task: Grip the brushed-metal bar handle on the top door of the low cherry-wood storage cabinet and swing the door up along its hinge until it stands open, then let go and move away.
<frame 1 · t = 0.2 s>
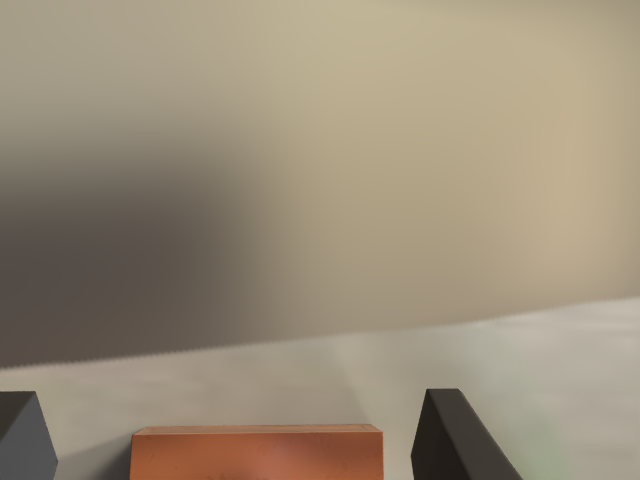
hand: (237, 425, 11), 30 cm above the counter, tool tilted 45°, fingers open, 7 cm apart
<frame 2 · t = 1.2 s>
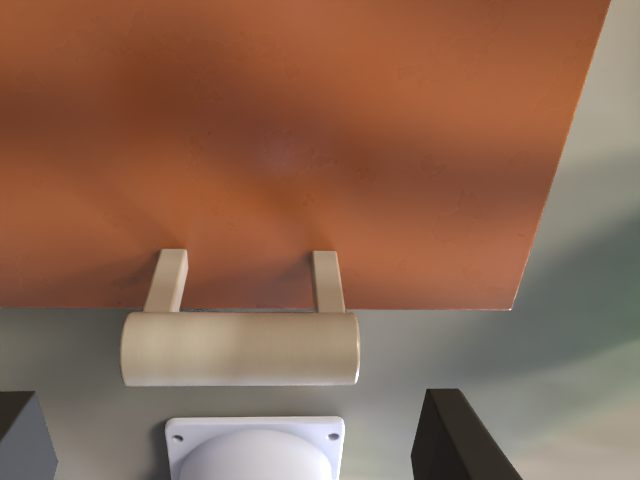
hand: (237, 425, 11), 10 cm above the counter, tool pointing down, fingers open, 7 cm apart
cabinet lid: (244, 178, 12), point 6 cm above the counter, hinge at 0.0°
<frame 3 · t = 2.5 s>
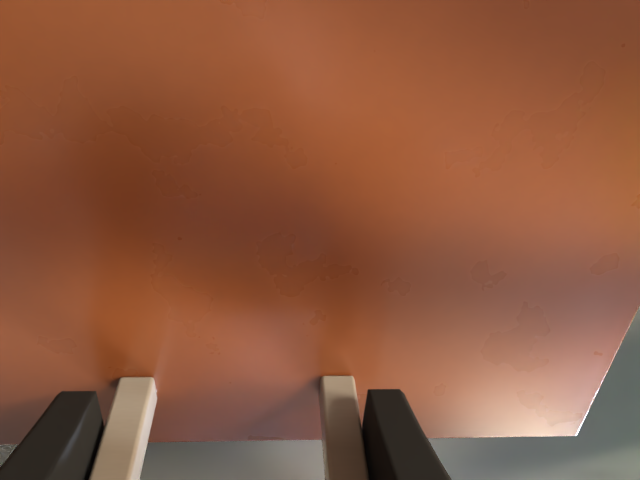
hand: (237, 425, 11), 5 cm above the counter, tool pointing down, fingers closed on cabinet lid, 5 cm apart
cabinet lid: (227, 321, 8), point 6 cm above the counter, hinge at 0.0°, touching gripper
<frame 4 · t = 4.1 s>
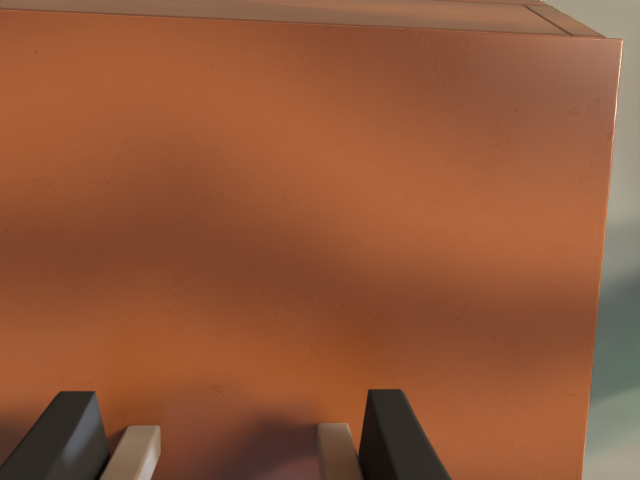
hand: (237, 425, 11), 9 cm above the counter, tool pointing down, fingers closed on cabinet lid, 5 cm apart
cabinet lid: (235, 304, 10), point 8 cm above the counter, hinge at 26.5°, touching gripper
cabinet: (252, 152, 17), on the counter
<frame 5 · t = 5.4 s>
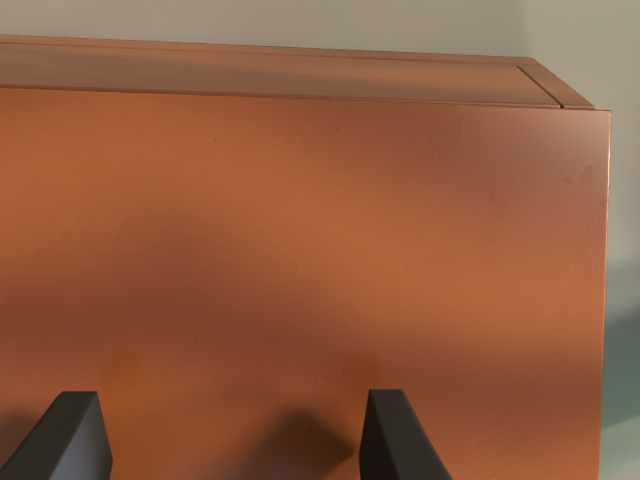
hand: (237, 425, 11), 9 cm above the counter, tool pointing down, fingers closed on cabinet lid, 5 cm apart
cabinet lid: (234, 376, 10), point 9 cm above the counter, hinge at 31.9°, touching gripper
cabinet: (253, 200, 18), on the counter
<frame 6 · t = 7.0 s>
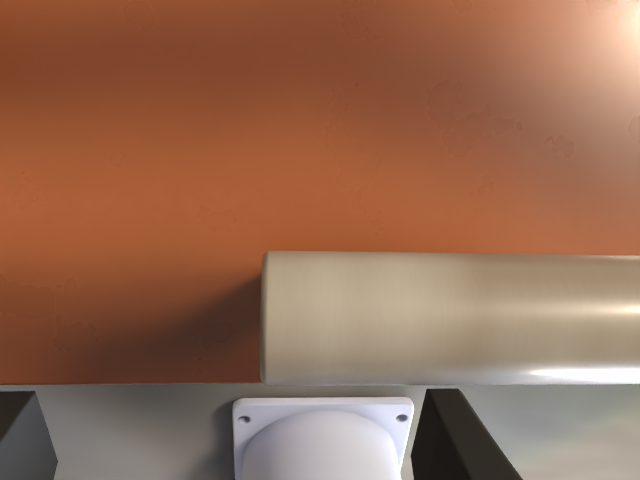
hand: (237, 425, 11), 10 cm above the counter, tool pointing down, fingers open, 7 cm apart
cabinet lid: (435, 73, 8), point 9 cm above the counter, hinge at 31.9°
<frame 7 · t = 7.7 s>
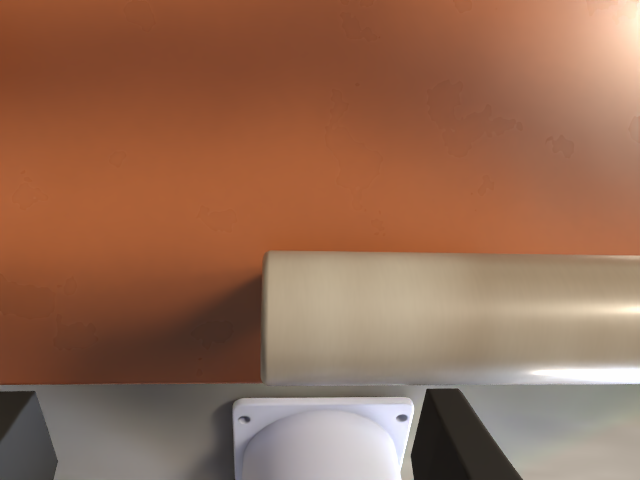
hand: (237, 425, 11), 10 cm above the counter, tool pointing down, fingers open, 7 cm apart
cabinet lid: (435, 73, 8), point 9 cm above the counter, hinge at 31.9°
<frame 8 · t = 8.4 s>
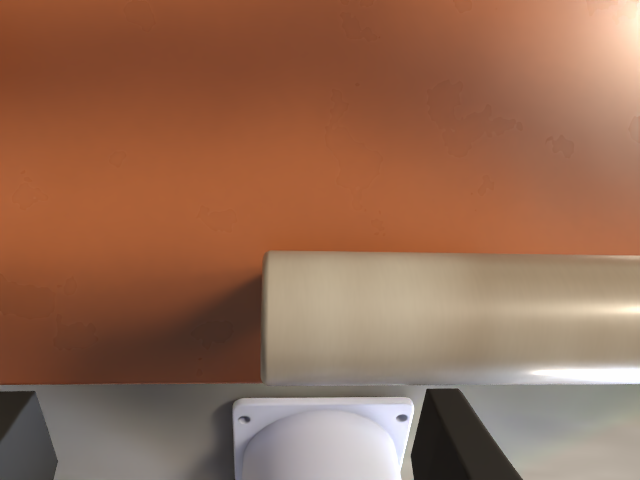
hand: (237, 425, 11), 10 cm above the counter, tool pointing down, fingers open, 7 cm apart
cabinet lid: (435, 73, 8), point 9 cm above the counter, hinge at 31.9°
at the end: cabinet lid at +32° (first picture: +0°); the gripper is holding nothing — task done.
